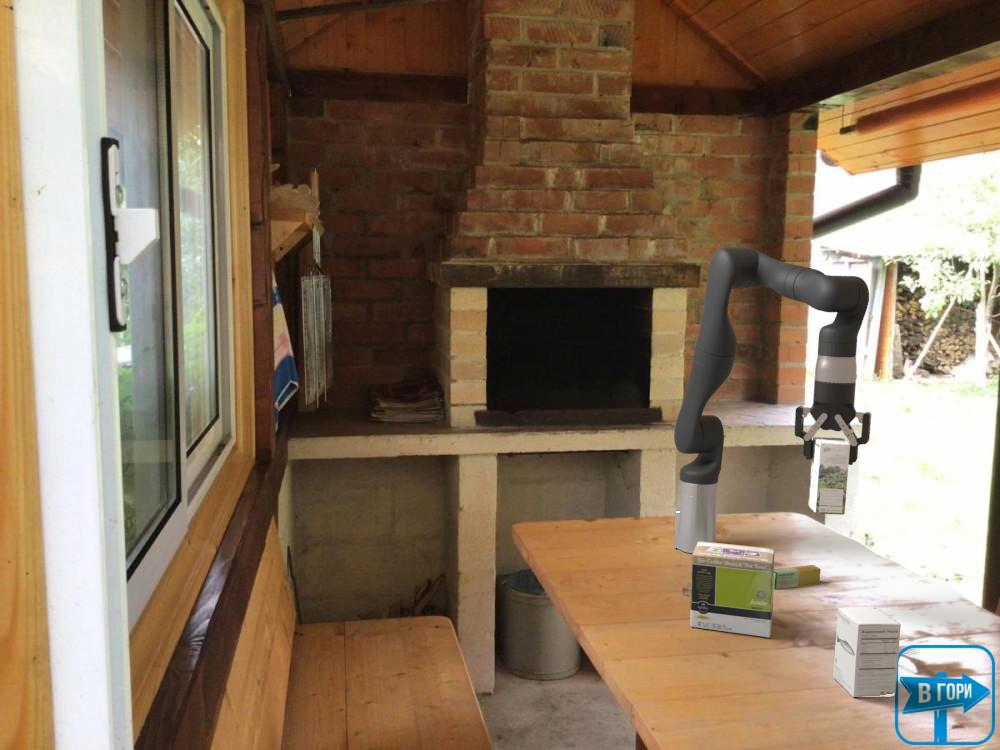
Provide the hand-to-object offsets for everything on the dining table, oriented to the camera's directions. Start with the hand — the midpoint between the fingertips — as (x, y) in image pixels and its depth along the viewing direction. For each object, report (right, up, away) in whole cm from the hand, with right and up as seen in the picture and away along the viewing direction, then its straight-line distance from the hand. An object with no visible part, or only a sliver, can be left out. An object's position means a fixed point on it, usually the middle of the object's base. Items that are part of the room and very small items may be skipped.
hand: (829, 461), depth 173 cm
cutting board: (-18, -29, +14) cm, 37 cm away
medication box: (-1, -29, +20) cm, 35 cm away
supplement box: (-5, -35, -28) cm, 45 cm away
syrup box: (0, -10, +1) cm, 10 cm away
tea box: (-20, -32, -2) cm, 37 cm away
